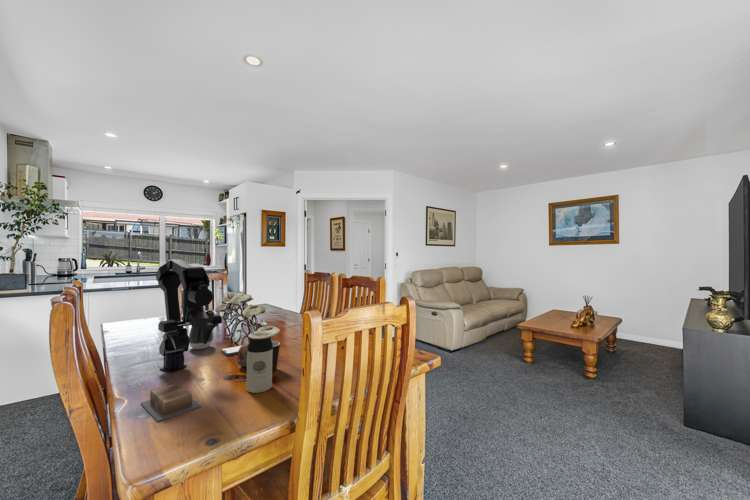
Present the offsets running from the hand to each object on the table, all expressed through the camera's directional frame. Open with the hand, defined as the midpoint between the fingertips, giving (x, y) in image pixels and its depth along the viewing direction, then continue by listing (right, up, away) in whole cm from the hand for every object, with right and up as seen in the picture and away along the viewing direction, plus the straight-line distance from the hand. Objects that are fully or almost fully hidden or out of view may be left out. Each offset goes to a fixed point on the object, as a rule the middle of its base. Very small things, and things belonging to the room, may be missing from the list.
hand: (191, 347), depth 110 cm
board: (-1, -10, -13) cm, 17 cm away
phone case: (+3, -13, +35) cm, 37 cm away
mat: (+4, -12, -17) cm, 21 cm away
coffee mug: (+21, -13, +12) cm, 28 cm away
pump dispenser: (-18, -12, +37) cm, 43 cm away
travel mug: (+25, -13, -5) cm, 29 cm away
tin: (+13, -13, +19) cm, 26 cm away
